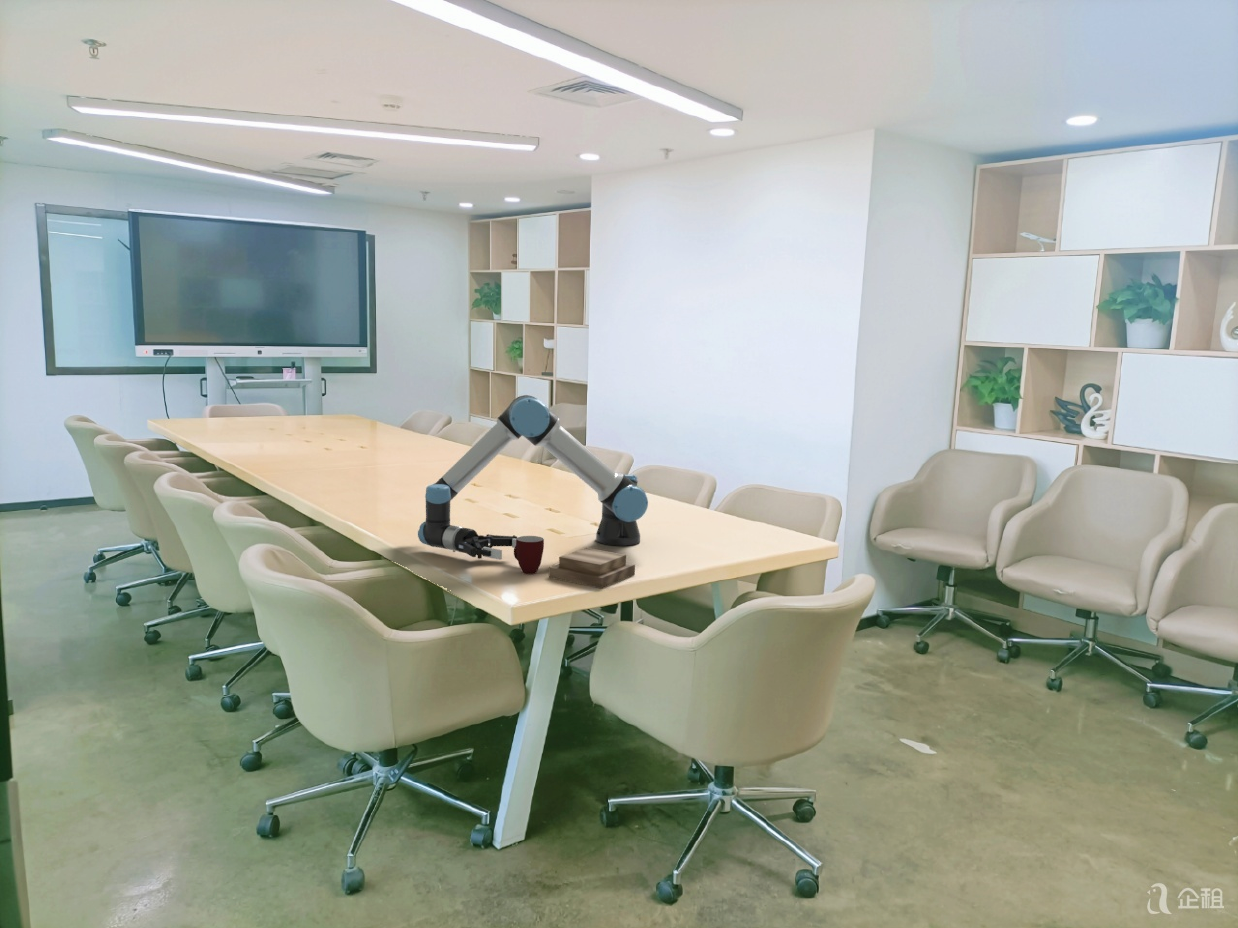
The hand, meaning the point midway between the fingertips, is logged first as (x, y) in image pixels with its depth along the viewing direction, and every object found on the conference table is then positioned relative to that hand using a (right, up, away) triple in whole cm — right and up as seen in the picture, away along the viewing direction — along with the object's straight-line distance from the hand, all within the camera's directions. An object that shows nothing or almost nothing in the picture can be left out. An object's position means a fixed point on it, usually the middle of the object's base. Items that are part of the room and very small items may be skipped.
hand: (515, 550), depth 254 cm
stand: (+23, -7, -3) cm, 24 cm away
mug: (+3, -6, -1) cm, 7 cm away
